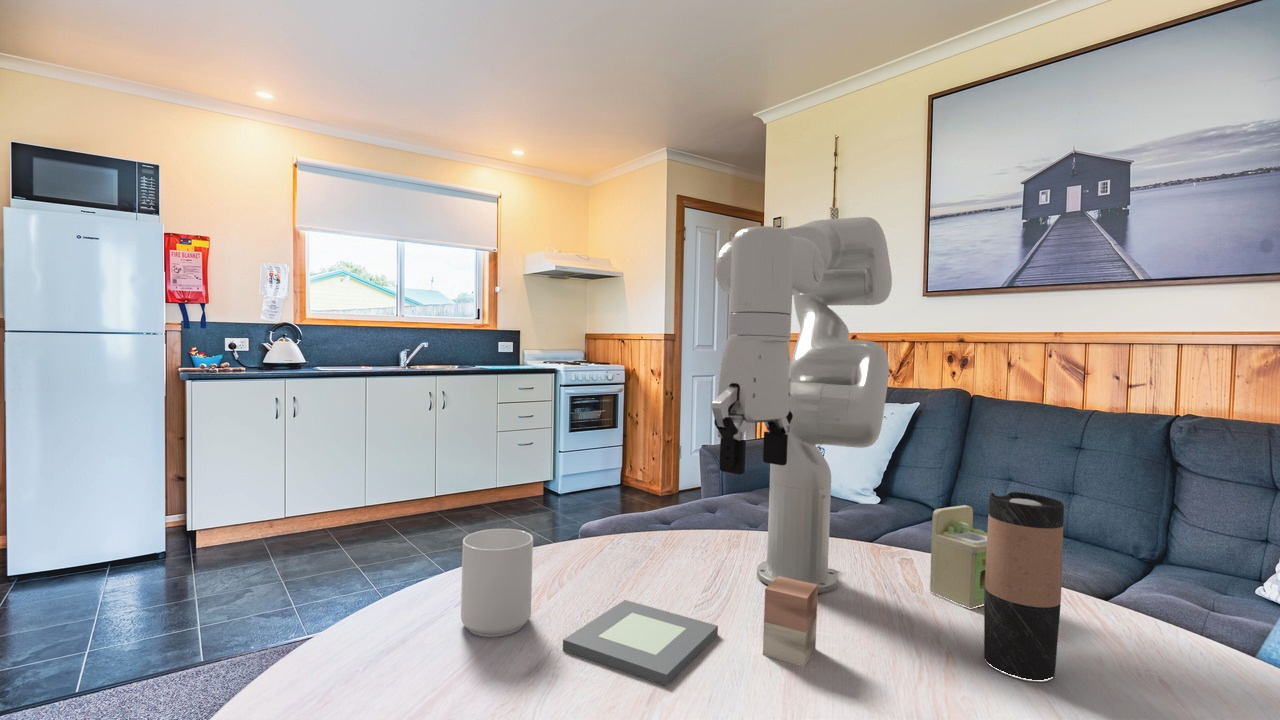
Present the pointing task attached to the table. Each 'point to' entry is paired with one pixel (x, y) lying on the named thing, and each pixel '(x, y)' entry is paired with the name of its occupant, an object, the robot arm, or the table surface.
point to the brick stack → (790, 620)
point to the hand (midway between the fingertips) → (754, 467)
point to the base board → (642, 640)
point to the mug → (496, 581)
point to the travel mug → (1023, 584)
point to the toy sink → (958, 556)
